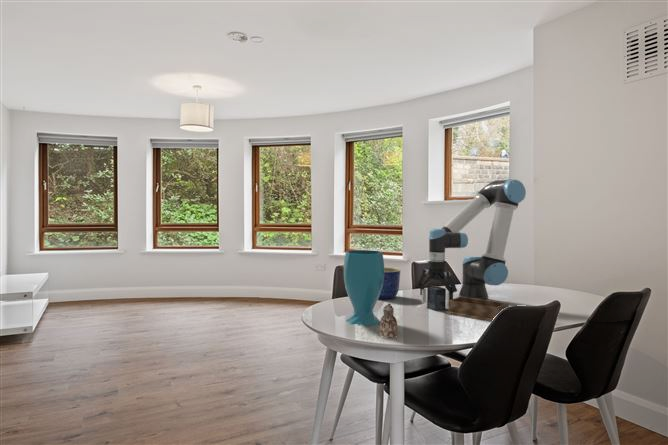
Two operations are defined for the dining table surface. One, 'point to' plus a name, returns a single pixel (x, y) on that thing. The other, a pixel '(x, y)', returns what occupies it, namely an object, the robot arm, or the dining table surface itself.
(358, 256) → the vase
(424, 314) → the dining table surface
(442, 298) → the box
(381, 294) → the planter
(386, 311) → the figurine
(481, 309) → the tray
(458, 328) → the dining table surface
